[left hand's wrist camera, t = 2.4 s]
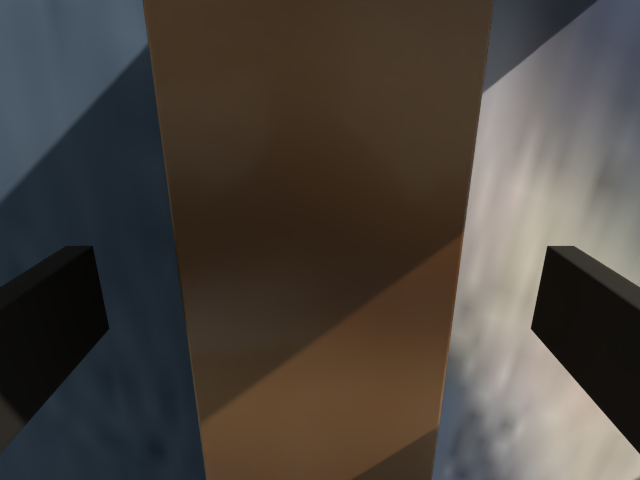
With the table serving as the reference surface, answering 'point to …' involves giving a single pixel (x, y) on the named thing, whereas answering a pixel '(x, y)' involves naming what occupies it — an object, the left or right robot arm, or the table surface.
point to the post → (318, 222)
